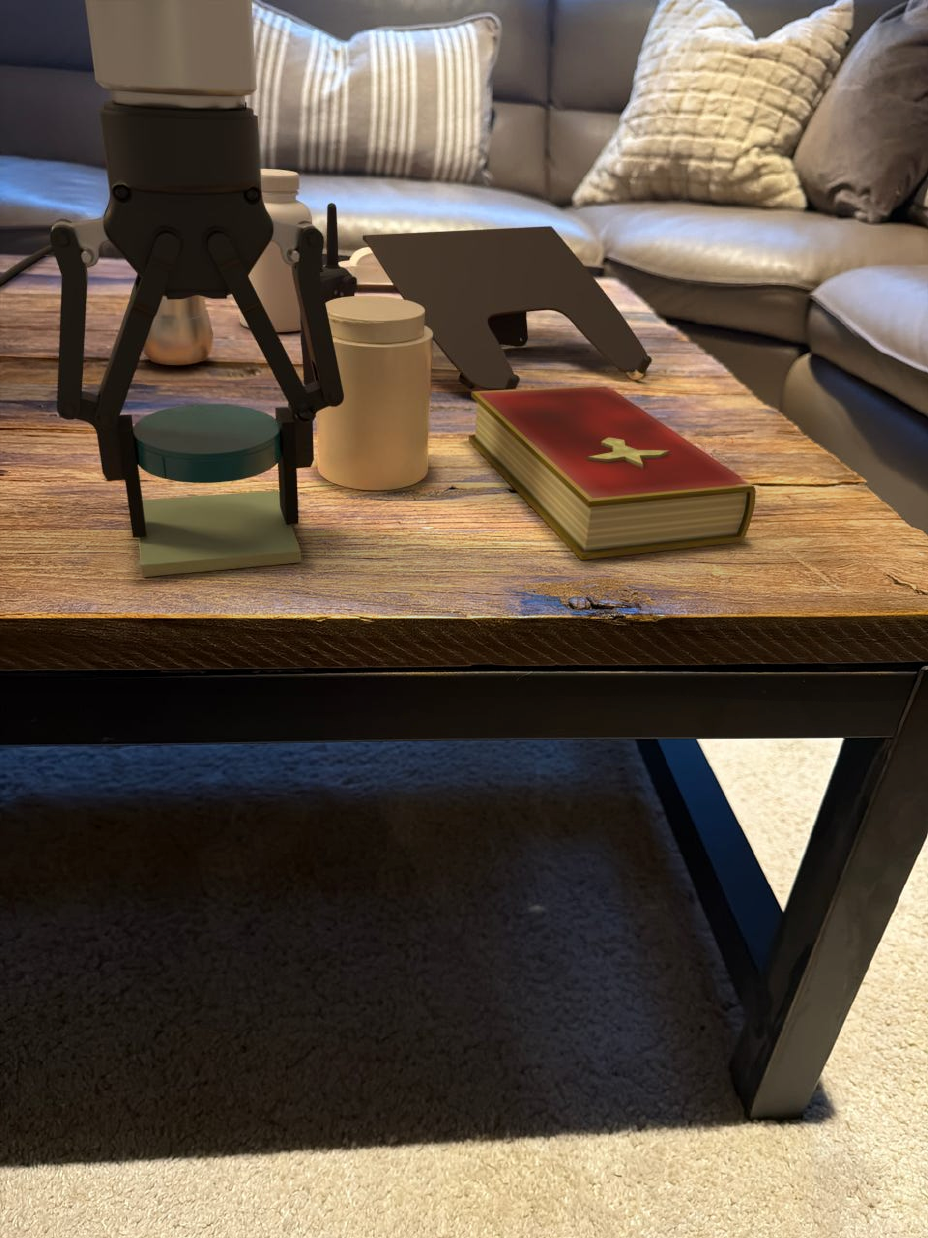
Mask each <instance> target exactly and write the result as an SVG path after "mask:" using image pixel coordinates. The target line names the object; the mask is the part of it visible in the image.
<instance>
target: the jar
mask: <svg viewBox="0 0 928 1238" xmlns="http://www.w3.org/2000/svg"><path fill="white" fill-rule="evenodd" d="M326 308H327V313H328V318H329V323H330V328H331V333H332V338H333V343H334V348H335V353H336V358H337V363H338V367H339V372H340V377H341V382H342V387H343V392H344V400H343V402H342V403H341V404H340V405H339V406H337V407H331V406H329V407H326V408H324V409H321V410H320V411H318V412H317V413H316V417H315V419H316V456H317V460H316V461H317V471H318V473H319V475H320V476H321V477H322V478H323V479H325V480H326V481H328V482H330V483H333V484H335V485H338V486H341V487H344V488H349V489H353V490H361V491H363V490H364V491H391V490H397V489H403V488H407V487H410V486H412V485H416V484H417V483H419V482H421V481H422V480H424V479H425V478H426V476H427V475H428V472H429V453H430V452H429V450H430V430H431V429H430V428H431V403H432V402H431V400H432V378H433V377H432V374H433V352H434V351H433V350H434V340H433V332H432V330H431V329H430V328H429V327H427V326H425V309H424V307H422V306H421V305H419V304H417V303H414V302H412V301H408V300H404V299H403V298H398V297H392V296H383V295H382V296H381V295H354V296H351V297H342V298H337V299H333V300H330V301H328V302H326Z"/></svg>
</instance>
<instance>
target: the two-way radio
mask: <svg viewBox="0 0 928 1238" xmlns="http://www.w3.org/2000/svg"><path fill="white" fill-rule="evenodd" d="M338 231H339V230H338V211H337V205H336V203H333V202H330V203H328V204H327V206H326V264H325V265H324V261H323V259H322V260H321V268H320V279H321V284H322V289H323V293H324V298H325V303H326V302H328V301H330V300H333V299H337V298H342V297H351V296H355V293H356V292H357V289H358V284H357V278H356V277H354V276H352V274H350V273H349V271H348V270H347V269H345V268H344V267H340V266H339V264H338V262H339V232H338ZM300 323H301V330H300V347H301V359H302V376H303V379H302V380H303V384H304V386H305V385H308V384H310V383H313V382H315V377H314V373H313V368H312V364H311V359H310V354H309V350H308V345H307V341H306V336H305V332H304V327H303V322H302V318H301V313H300Z"/></svg>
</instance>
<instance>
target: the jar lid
mask: <svg viewBox="0 0 928 1238" xmlns="http://www.w3.org/2000/svg"><path fill="white" fill-rule="evenodd" d="M133 435H134V443H135V451H136V458H137V463H138V467H139V468H140V469H141V470H143V471H144V472H146V473H147V474H149V475H152V476H154V477H157V478H159V479H160V478H161V479H164V480H168V481H173V482H181V483H188V484H189V483H191V484H217V483H219V484H220V483H227V482H235V481H241V480H244V479H249V478H252V477H255V476H258V475H262V474H263V473H265V472H268V471H270V470H272V469H274V467H276V466H277V465H278V462H279V461H280V459H281V431H280V425H279V423H278V421H277V420H276V417H274V416H272V415H271V414H268V413H267V412H264V411H261V410H259V409H255V408H251V407H247V406H241V405H234V404H223V403H222V404H221V403H220V404H217V403H200V404H188V405H181V406H174V407H169V408H166V409H161V410H158V411H155V412H152V413H149V414H148V415H145V416H143V417H142V418H140V419H139V420H138V421H136V423H134V424H133Z"/></svg>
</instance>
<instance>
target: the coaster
mask: <svg viewBox="0 0 928 1238" xmlns="http://www.w3.org/2000/svg"><path fill="white" fill-rule="evenodd" d="M142 500H143V507H144V515H145V526H146V537H138V545H139V561H140V570H141V577H142V578H148V577H160V576H170V575H181V574H192V573H201V572H202V573H203V572H213V571H214V572H215V571H224V570H233V569H243V568H244V569H245V568H246V569H247V568H254V567H265V566H267V567H268V566H276V565H277V566H278V565H286V564H298V563H302V551H301V547H300V545H299V542H298V540H297V537H296V535H295V532H294V529H293V526H292V524H291V525H286V522H285V519H284V517H283V514H282V511H281V508H280V497H279V489H277V490H263V491H250V492H249V491H248V492H238V493H237V492H235V493H221V494H208V495H207V494H206V495H196V496H195V495H194V496H180V497H168V498H167V497H166V498H154V499H153V498H152V499H151V498H150V499H142Z"/></svg>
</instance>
